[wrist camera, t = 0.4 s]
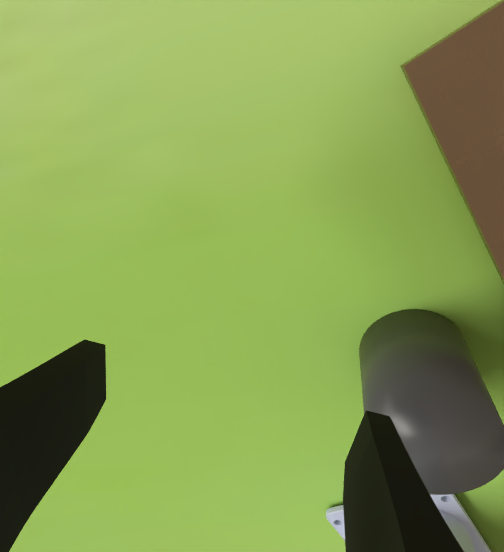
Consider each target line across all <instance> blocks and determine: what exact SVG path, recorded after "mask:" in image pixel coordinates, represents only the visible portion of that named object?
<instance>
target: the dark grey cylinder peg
mask: <svg viewBox="0 0 504 552" xmlns="http://www.w3.org/2000/svg"><path fill="white" fill-rule="evenodd" d="M359 356H360V368H361V381H362V393H363V405H364V414H365V412H366V410H367V411H371V412H375V413H379V414H383V415H387V416H390V418H391V419H392V421H393V423H394V425H395V427H396V429H397V432H398V434H399V436H400V438H401V440H402V442H403V444H404V446H405V448H406V450H407V452H408V454H409V456H410V458H411V460H412V462H413V464H414V466H415V468H416V470H417V472H418V473H419V475H420V477H421V479H422V481H423V483H424V485H425V486H426V488H427V490H428V492H429V494H432V495H448V494H457V493H462V492H466V491H470V490H473V489H475V488H478V487H480V486H482V485H484V484H486V483H488V482H489V481H491V480H493V479H494V478H495V477H496V476H497V475H499V473H500V472H501V471H502V470H503V469H504V425H503V423H502V420H501V418H500V416H499V414H498V412H497V410H496V407H495V405H494V403H493V401H492V399H491V396H490V394H489V392H488V390H487V388H486V386H485V383H484V381H483V379H482V377H481V375H480V373H479V370H478V368H477V366H476V364H475V362H474V360H473V357H472V355H471V353H470V351H469V349H468V347H467V344H466V342H465V340H464V338H463V336H462V333H461V332H460V330H459V329H458V328H457V326H456V325H455V324H454V323H453V322H451V321H450V320H449V319H447V318H446V317H444V316H442V315H440V314H438V313H434V312H431V311H427V310H419V309H408V310H401V311H397V312H393V313H390V314H388V315H386V316H384V317H382V318H380V319H378V320H377V321H376V322H374V323H373V324H372V325H371V326H370V327H369V328H368V329H367V331H366V332H365V333H364V335H363V337H362V339H361V343H360V348H359Z"/></svg>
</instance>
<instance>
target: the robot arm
mask: <svg viewBox="0 0 504 552" xmlns="http://www.w3.org/2000/svg"><path fill="white" fill-rule="evenodd" d="M105 400H106V362H105V345H104V344H100V343H96V342H92V341H88V340H83V341H81V342H79V343H78V344H76V345H74V346H72V347H71V348H69V349H67V350H66V351H64V352H62V353H60V354H59V355H57V356H55V357H54V358H52V359H50V360H48V361H47V362H45V363H43V364H41V365H40V366H38V367H36V368H35V369H33V370H31V371H29V372H27V373H26V374H24V375H22V376H20V377H19V378H17V379H15V380H13V381H11V382H10V383H8V384H6V385H4V386H2V387H0V552H9V550H10V549H11V547H12V545H13V544H14V542H15V540H16V538H17V537H18V535H19V533H20V531H21V530H22V528H23V526H24V525H25V523H26V522H27V520H28V519H29V517H30V515H31V514H32V512H33V511H34V509H35V508H36V506H37V505H38V504H39V502H40V501H41V499H42V498H43V496H44V495H45V494H46V492H47V491H48V489H49V488H50V486H51V485H52V484H53V482H54V481H55V479H56V478H57V477H58V475H59V474H60V472H61V471H62V469H63V468H64V467H65V465H66V464H67V462H68V461H69V460H70V458H71V457H72V455H73V454H74V452H75V451H76V449H77V448H78V447H79V445H80V444H81V442H82V441H83V439H84V438H85V436H86V435H87V433H88V432H89V430H90V428H91V426H92V425H93V423H94V421H95V419H96V417H97V416H98V414H99V412H100V410H101V408H102V406H103V404H104V402H105ZM326 518H327V519H328V521H329V522H330V523H331V524H332V526H333V527H334V528H335V529H336V530H337V532H338V533H339V534H340V535H341V537H342V538H343V539H344V540H345V545H346V552H491V550H490V548H489V547H488V545H487V544H486V542H485V541H484V539H483V538H482V536H481V534H480V533H479V531H478V530H477V528H476V527H475V525H474V524H473V522H472V521H471V519H470V517H469V516H468V514H467V513H466V511H465V510H464V508H463V507H462V505H461V503H460V502H459V500H458V499H457V497H456V496H455V494H448V495H432V494H429V492H428V490H427V488H426V486H425V485H424V483H423V481H422V479H421V477H420V475H419V473H418V472H417V470H416V468H415V466H414V464H413V462H412V460H411V458H410V456H409V454H408V452H407V450H406V448H405V446H404V444H403V442H402V440H401V438H400V436H399V434H398V432H397V429H396V427H395V425H394V423H393V421H392V419H391V418H390V416H387V415H383V414H379V413H375V412H371V411H367V410H366V412H365V414H364V417H363V419H362V421H361V424H360V426H359V429H358V431H357V434H356V436H355V439H354V441H353V444H352V446H351V449H350V451H349V454H348V456H347V459H346V461H345V473H344V492H343V505H340V506H336V507H332V508H329V509H327V510H326Z"/></svg>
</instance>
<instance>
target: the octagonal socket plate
mask: <svg viewBox="0 0 504 552" xmlns="http://www.w3.org/2000/svg"><path fill="white" fill-rule="evenodd" d="M401 68H402V70H403V72H404V74H405V77H406V79H407V81H408V83H409V85H410V87H411V89H412V91H413V93H414V96H415V98H416V100H417V102H418V104H419V106H420V108H421V110H422V112H423V115H424V117H425V119H426V121H427V123H428V125H429V127H430V129H431V131H432V134H433V136H434V138H435V140H436V142H437V144H438V146H439V148H440V150H441V153H442V155H443V157H444V159H445V161H446V163H447V165H448V167H449V169H450V172H451V174H452V176H453V178H454V180H455V182H456V184H457V186H458V188H459V191H460V193H461V195H462V197H463V199H464V201H465V203H466V205H467V207H468V210H469V212H470V214H471V216H472V218H473V220H474V222H475V224H476V226H477V229H478V231H479V233H480V235H481V237H482V239H483V241H484V243H485V245H486V248H487V250H488V252H489V254H490V256H491V258H492V260H493V262H494V264H495V267H496V269H497V271H498V273H499V275H500V277H501V279H502V281H503V283H504V0H501V1H500V2H498V3H497V4H495V5H494V6H492V7H491V8H489V9H488V10H486V11H485V12H483V13H481V14H480V15H478V16H477V17H475V18H474V19H472V20H471V21H469V22H468V23H466V24H465V25H463V26H461V27H460V28H458V29H457V30H455V31H454V32H452V33H451V34H449V35H448V36H446V37H445V38H443V39H441V40H440V41H438V42H437V43H435V44H434V45H432V46H431V47H429V48H428V49H426V50H425V51H423V52H421V53H420V54H418V55H417V56H415V57H414V58H412V59H411V60H409V61H408V62H406V63H405V64H403V65H402V66H401Z"/></svg>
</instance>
